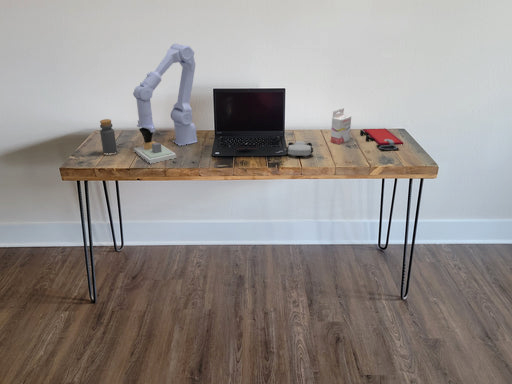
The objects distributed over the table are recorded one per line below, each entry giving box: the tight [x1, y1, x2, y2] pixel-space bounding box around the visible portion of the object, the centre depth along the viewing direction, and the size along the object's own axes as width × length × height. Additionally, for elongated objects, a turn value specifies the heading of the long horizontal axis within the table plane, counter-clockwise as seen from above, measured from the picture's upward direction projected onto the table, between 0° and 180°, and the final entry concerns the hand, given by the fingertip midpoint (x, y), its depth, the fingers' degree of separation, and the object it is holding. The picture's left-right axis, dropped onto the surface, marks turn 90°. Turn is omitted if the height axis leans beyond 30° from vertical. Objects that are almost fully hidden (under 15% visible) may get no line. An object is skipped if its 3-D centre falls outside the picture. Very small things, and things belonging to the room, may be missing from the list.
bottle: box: [99, 118, 118, 154], centre depth 212 cm, size 6×6×15 cm
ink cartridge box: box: [330, 107, 352, 145], centre depth 224 cm, size 9×5×15 cm, turn 135°
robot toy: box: [284, 140, 315, 157], centre depth 212 cm, size 12×4×15 cm
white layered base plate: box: [132, 144, 177, 165], centre depth 212 cm, size 18×12×2 cm, turn 34°
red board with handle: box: [359, 128, 404, 151], centre depth 227 cm, size 30×3×15 cm
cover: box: [142, 141, 173, 159], centre depth 208 cm, size 10×10×4 cm
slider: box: [143, 140, 157, 150], centre depth 214 cm, size 3×5×2 cm, turn 124°
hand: (148, 143), depth 216 cm, fingers closed
